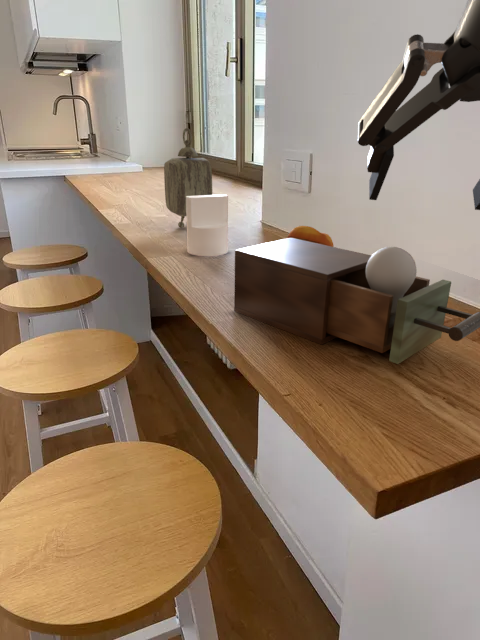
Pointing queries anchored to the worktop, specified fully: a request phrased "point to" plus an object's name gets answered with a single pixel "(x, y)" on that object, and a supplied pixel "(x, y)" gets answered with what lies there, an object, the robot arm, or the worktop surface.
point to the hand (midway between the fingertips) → (424, 195)
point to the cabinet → (291, 284)
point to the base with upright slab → (207, 224)
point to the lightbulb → (391, 274)
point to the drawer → (410, 320)
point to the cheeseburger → (310, 235)
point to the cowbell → (186, 178)
